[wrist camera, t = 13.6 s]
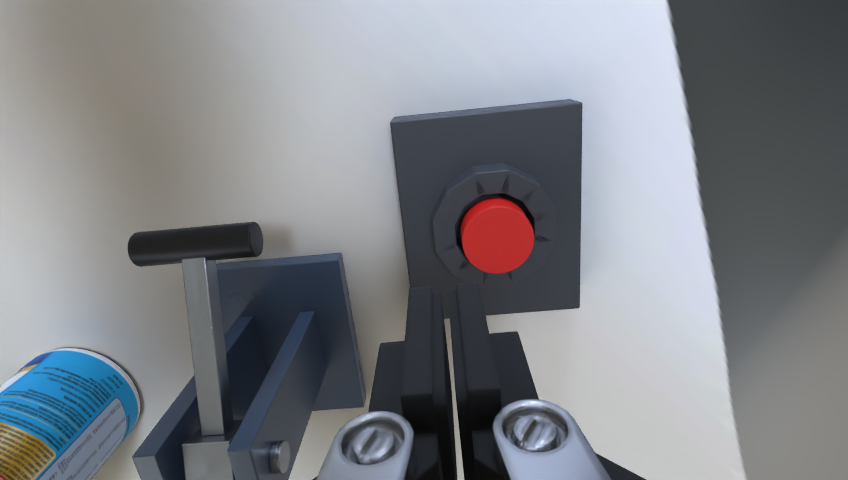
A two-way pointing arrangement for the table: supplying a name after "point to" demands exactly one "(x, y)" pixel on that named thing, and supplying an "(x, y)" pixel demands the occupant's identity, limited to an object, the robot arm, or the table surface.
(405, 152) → the button housing
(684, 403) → the table surface
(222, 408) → the switch lever
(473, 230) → the stop button
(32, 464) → the beverage bottle
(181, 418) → the switch bracket
